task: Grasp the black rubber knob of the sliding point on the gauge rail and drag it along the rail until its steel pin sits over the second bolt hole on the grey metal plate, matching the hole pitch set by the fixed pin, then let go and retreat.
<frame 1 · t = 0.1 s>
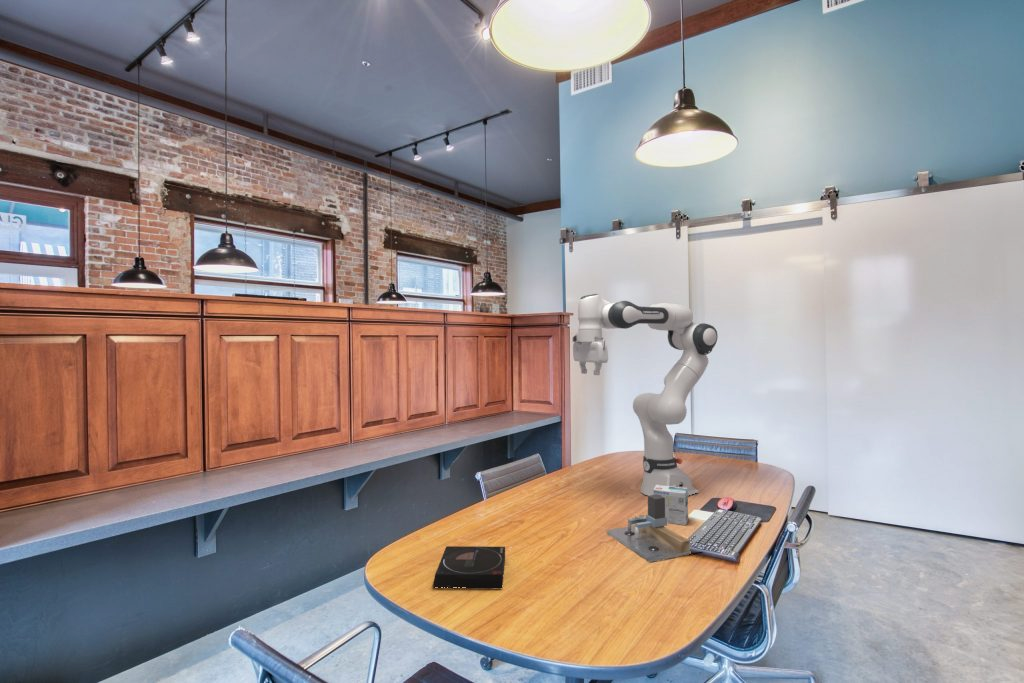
hand: (590, 374, 184), 48 cm above the table, tool pointing down, fingers open, 8 cm apart
sliding point: (649, 516, 150), point 7 cm above the table, slide at 1.0 cm
light bulb box: (670, 520, 166), on the table
portable cd player: (471, 575, 129), on the table
bolt plate: (652, 542, 148), on the table
gauge rail: (652, 531, 148), on the bolt plate, point 3 cm above the table
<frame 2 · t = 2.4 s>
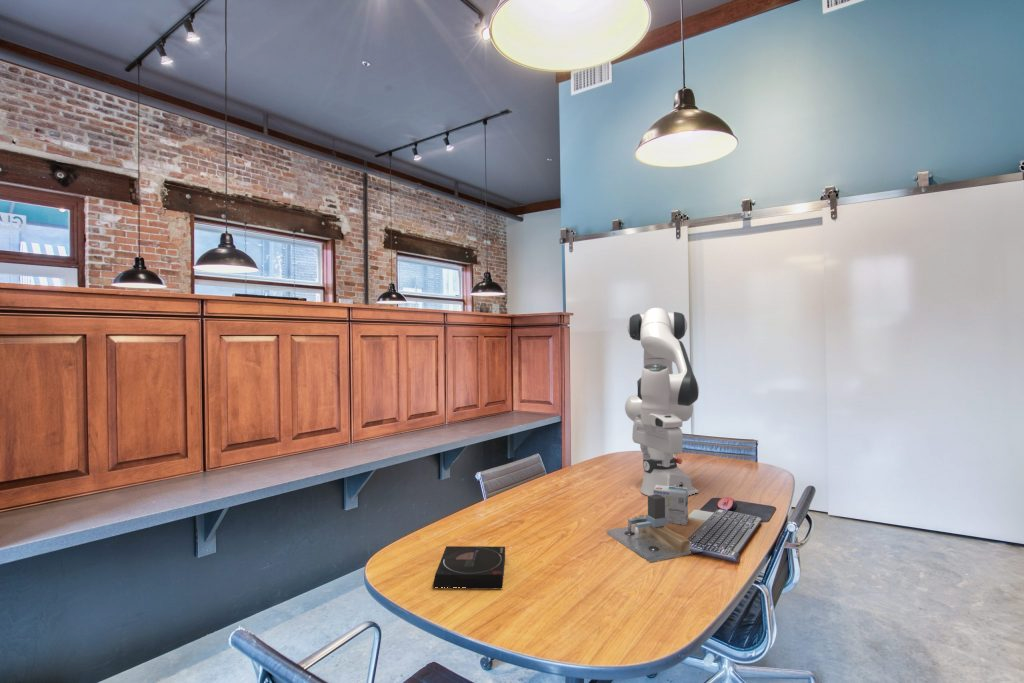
hand: (655, 463, 150), 23 cm above the table, tool pointing down, fingers open, 8 cm apart
nothing on the table moved.
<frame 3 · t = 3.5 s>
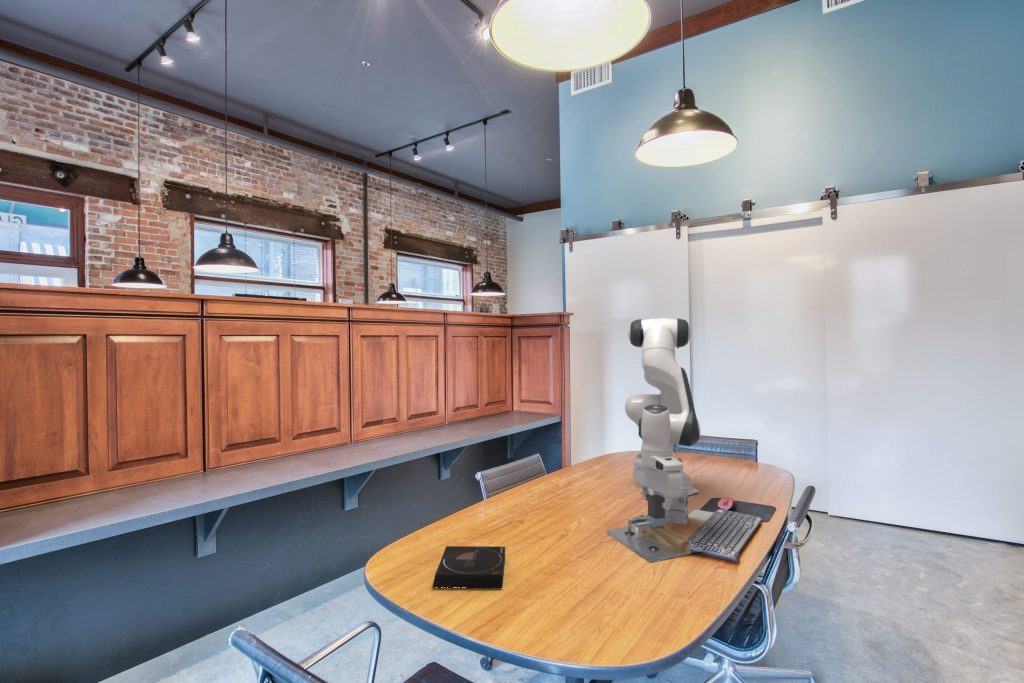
hand: (656, 504, 150), 10 cm above the table, tool pointing down, fingers open, 8 cm apart
nothing on the table moved.
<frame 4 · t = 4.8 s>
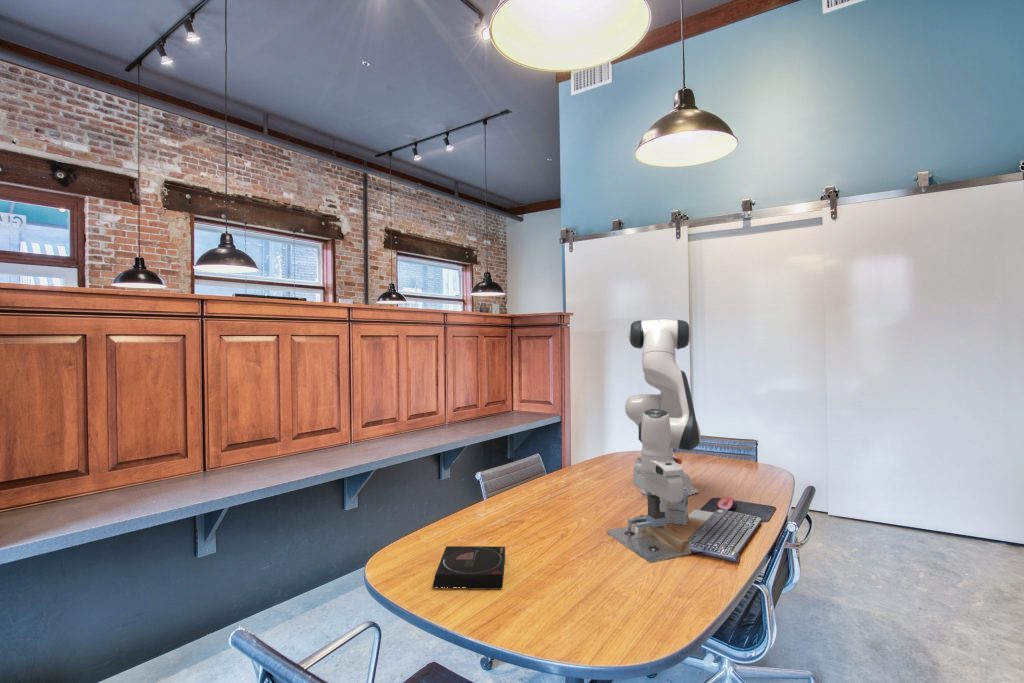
hand: (656, 508, 150), 9 cm above the table, tool pointing down, fingers closed on sliding point, 4 cm apart
sliding point: (649, 516, 150), point 7 cm above the table, slide at 1.0 cm, touching gripper
everything else where it was.
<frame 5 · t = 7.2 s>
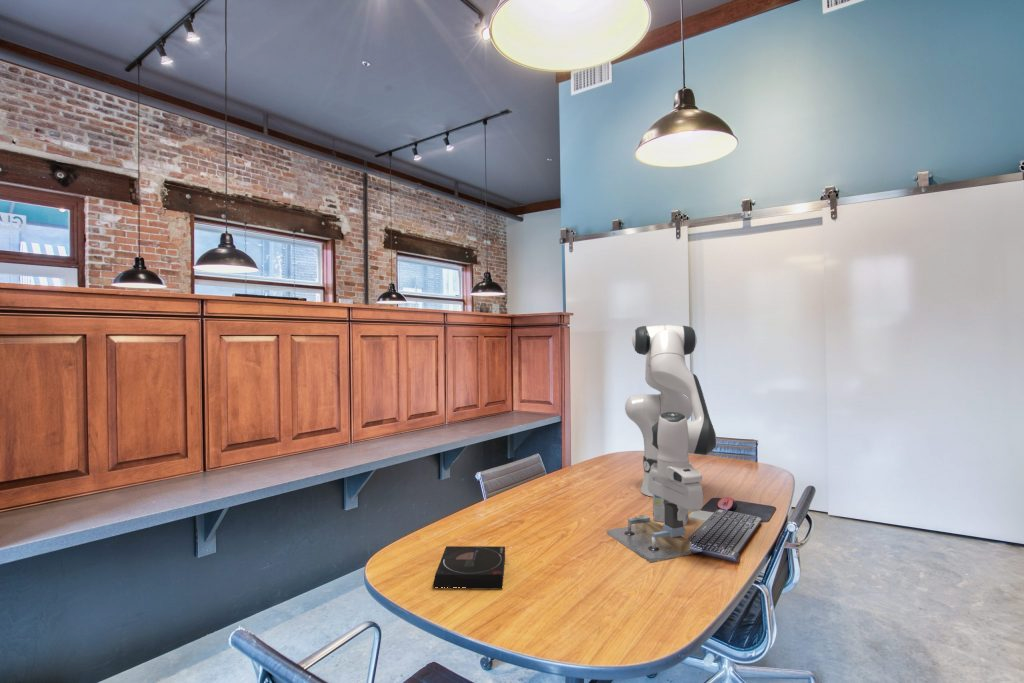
hand: (673, 516, 143), 9 cm above the table, tool pointing down, fingers closed on sliding point, 4 cm apart
sliding point: (666, 525, 142), point 7 cm above the table, slide at 9.0 cm, touching gripper
everything else where it was.
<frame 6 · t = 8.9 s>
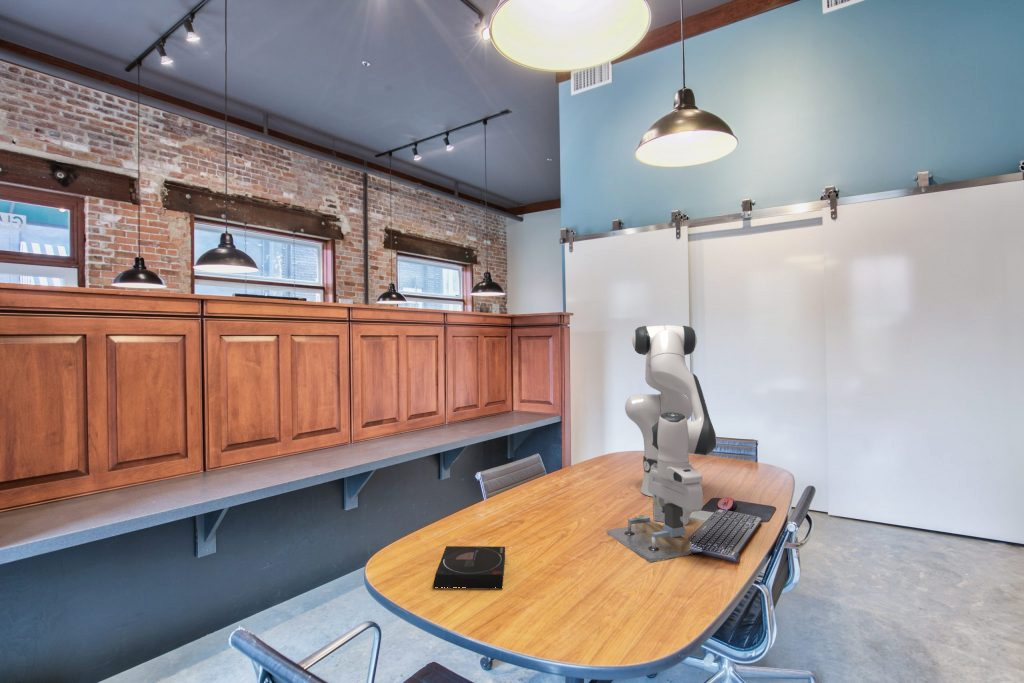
hand: (673, 517, 143), 9 cm above the table, tool pointing down, fingers open, 8 cm apart
sliding point: (666, 525, 142), point 7 cm above the table, slide at 9.0 cm
everything else where it was.
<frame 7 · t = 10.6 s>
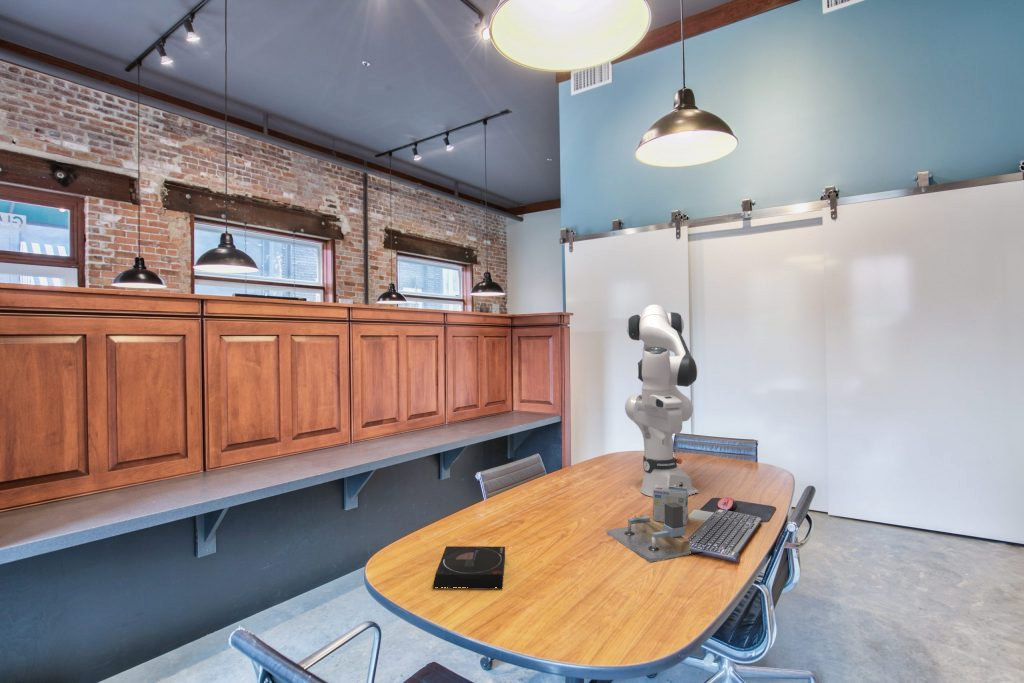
hand: (656, 442, 156), 28 cm above the table, tool pointing down, fingers open, 8 cm apart
nothing on the table moved.
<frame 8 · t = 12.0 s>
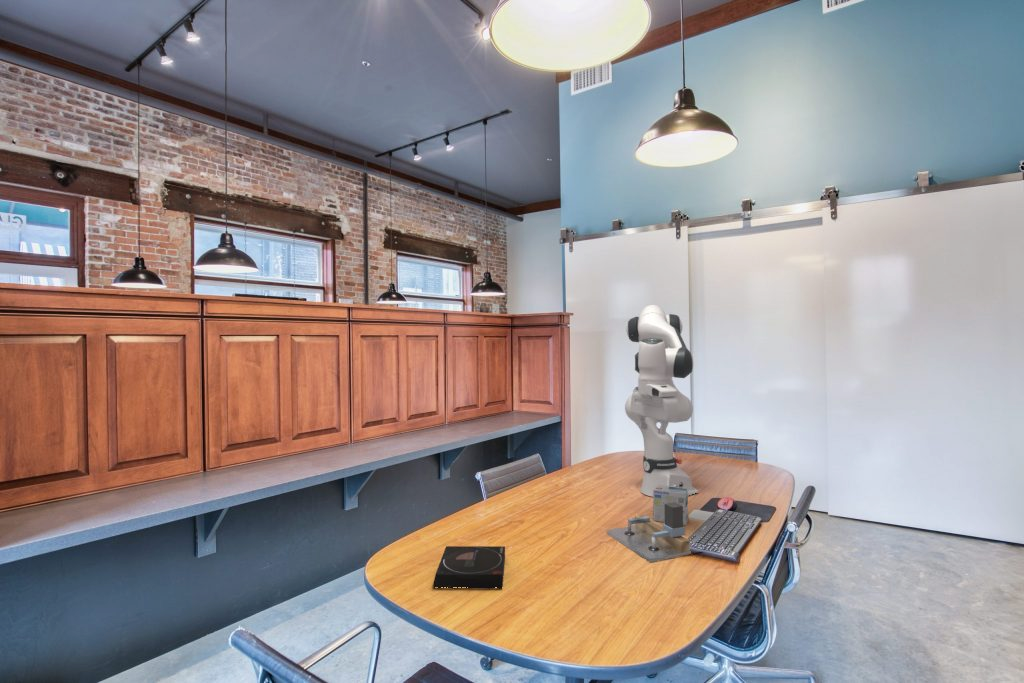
hand: (652, 431, 158), 31 cm above the table, tool pointing down, fingers open, 8 cm apart
nothing on the table moved.
at the end: sliding point slide at 9.0 cm; the gripper is holding nothing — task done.
